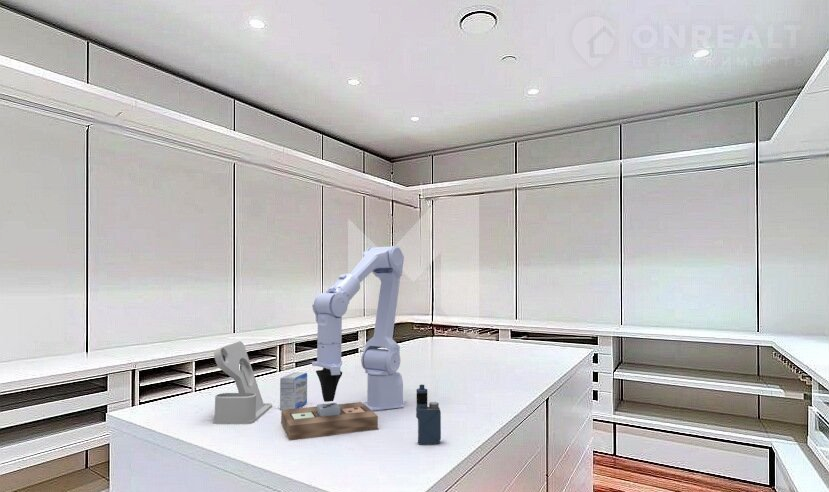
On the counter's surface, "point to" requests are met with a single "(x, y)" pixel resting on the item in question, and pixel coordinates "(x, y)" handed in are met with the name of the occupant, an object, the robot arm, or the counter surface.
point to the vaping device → (427, 419)
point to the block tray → (328, 422)
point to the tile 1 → (302, 415)
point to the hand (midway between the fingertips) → (328, 400)
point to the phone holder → (248, 400)
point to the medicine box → (293, 390)
